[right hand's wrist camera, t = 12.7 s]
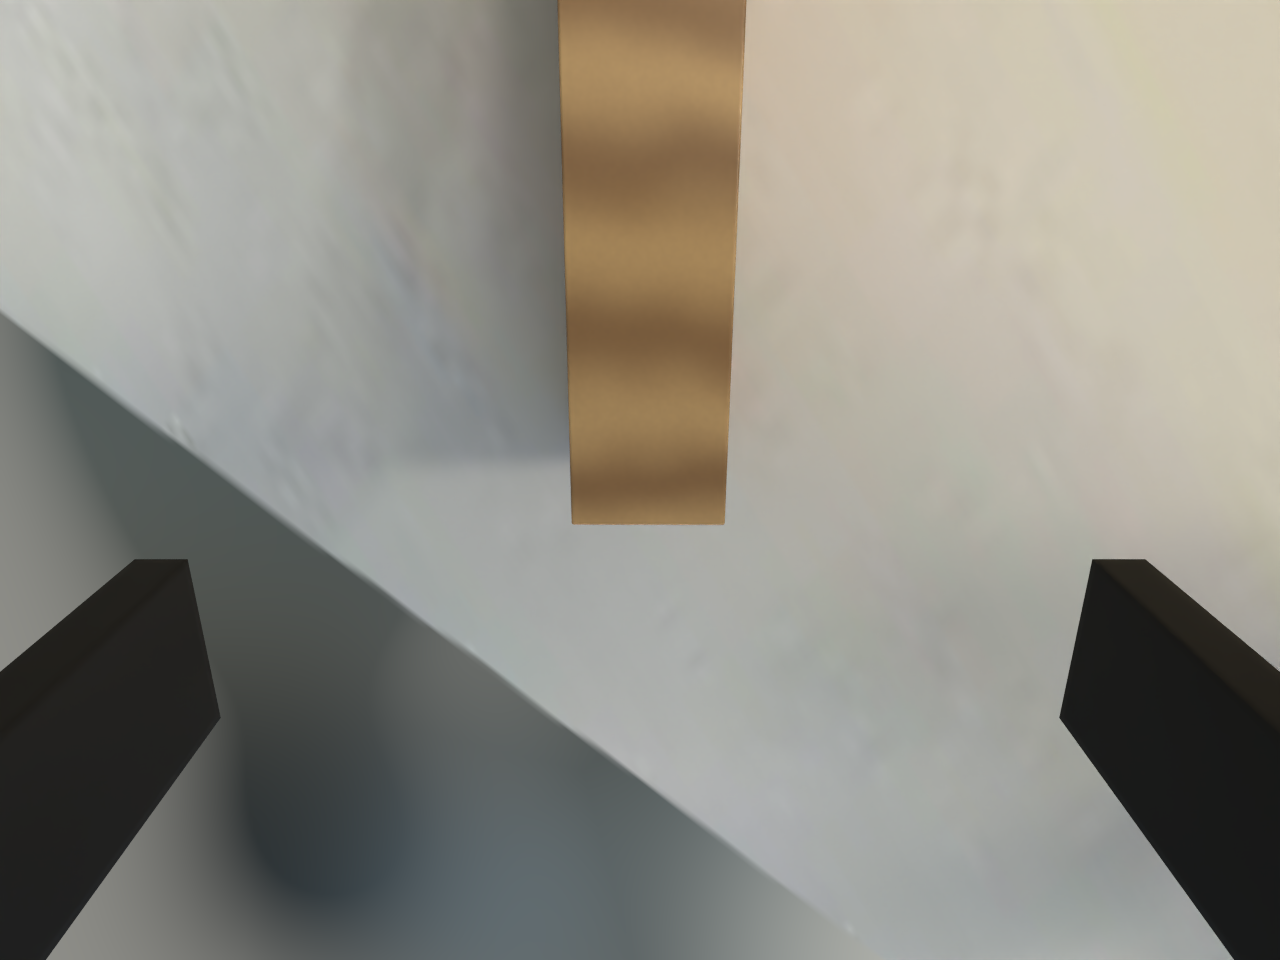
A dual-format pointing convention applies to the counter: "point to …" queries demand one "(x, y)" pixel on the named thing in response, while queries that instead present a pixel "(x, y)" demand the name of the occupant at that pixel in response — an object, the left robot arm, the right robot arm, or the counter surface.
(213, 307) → the counter surface
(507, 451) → the counter surface
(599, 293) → the beam
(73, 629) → the right robot arm
